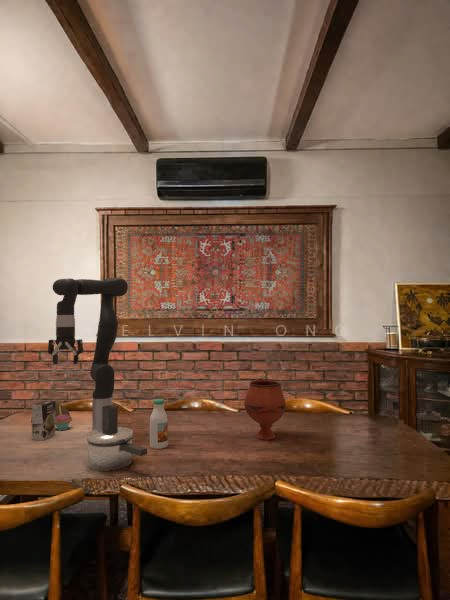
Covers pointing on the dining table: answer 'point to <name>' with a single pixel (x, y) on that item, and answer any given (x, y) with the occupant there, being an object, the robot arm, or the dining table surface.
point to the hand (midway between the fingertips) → (65, 364)
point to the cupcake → (62, 421)
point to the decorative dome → (57, 411)
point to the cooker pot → (113, 455)
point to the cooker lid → (109, 428)
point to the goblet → (265, 405)
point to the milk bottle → (158, 426)
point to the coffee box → (43, 420)
